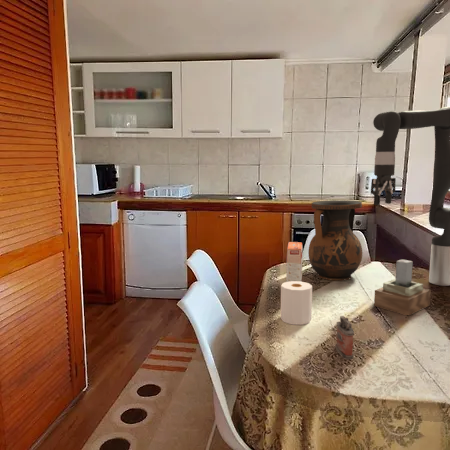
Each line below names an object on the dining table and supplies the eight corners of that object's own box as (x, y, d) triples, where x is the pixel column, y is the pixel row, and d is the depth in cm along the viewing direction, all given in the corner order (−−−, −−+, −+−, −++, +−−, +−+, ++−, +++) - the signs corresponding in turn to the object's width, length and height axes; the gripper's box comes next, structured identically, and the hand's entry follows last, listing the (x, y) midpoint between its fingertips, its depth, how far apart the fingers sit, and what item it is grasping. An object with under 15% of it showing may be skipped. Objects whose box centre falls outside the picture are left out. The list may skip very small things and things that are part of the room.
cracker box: (301, 302, 155) (302, 248, 151) (285, 301, 156) (286, 248, 153) (301, 290, 168) (302, 241, 165) (287, 289, 169) (287, 241, 166)
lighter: (333, 346, 117) (334, 313, 116) (344, 345, 118) (345, 313, 116) (343, 359, 109) (345, 324, 108) (355, 358, 110) (357, 324, 108)
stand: (396, 296, 160) (397, 275, 158) (429, 305, 150) (431, 283, 148) (374, 305, 150) (375, 283, 148) (408, 315, 140) (409, 292, 138)
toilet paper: (275, 316, 140) (275, 283, 139) (300, 311, 144) (301, 279, 143) (291, 327, 131) (291, 291, 129) (317, 321, 135) (318, 287, 133)
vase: (319, 266, 206) (321, 198, 201) (368, 273, 192) (371, 201, 187) (299, 277, 187) (300, 202, 182) (351, 286, 173) (354, 205, 167)
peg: (400, 287, 152) (402, 259, 150) (410, 290, 148) (412, 261, 147) (394, 289, 149) (396, 261, 147) (405, 292, 146) (407, 263, 144)
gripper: (383, 163, 152) (381, 206, 155) (402, 163, 161) (400, 203, 164) (366, 163, 158) (364, 204, 161) (385, 163, 167) (383, 202, 170)
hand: (382, 204), depth 162 cm, fingers open, 8 cm apart
